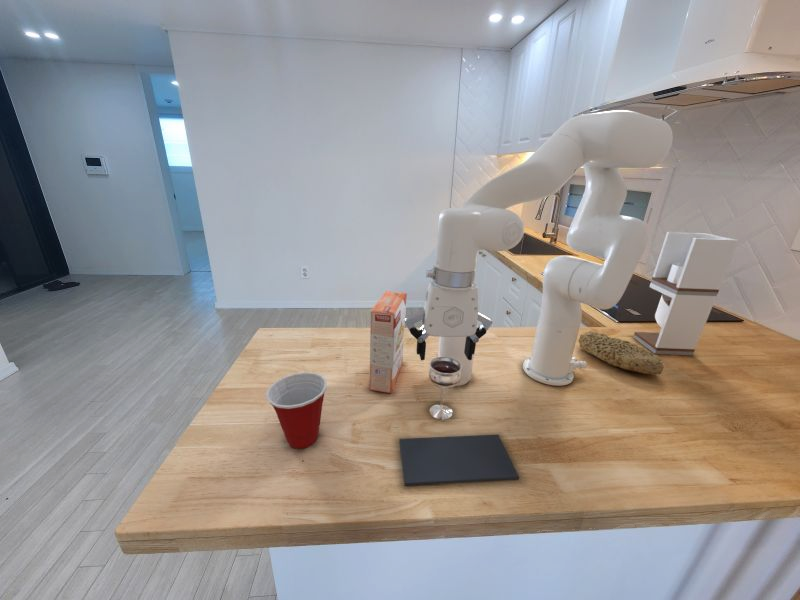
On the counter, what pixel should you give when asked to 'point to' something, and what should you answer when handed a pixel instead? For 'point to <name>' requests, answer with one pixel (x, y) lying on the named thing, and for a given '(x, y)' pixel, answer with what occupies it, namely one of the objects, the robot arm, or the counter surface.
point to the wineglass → (444, 382)
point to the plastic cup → (298, 406)
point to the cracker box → (387, 340)
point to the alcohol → (457, 355)
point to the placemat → (455, 460)
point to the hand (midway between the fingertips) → (444, 356)
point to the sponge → (621, 353)
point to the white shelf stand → (686, 289)
